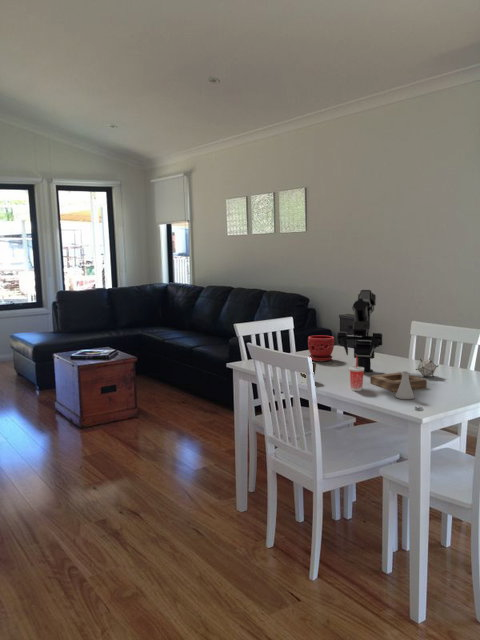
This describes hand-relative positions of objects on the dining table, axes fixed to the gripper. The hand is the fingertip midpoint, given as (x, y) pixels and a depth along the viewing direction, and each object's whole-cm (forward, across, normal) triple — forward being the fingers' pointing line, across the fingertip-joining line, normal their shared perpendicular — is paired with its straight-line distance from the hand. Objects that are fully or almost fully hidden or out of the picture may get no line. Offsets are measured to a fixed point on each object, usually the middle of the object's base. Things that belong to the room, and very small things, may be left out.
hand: (358, 355), depth 241 cm
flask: (+20, +19, -1) cm, 27 cm away
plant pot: (-25, -23, +43) cm, 55 cm away
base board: (+7, +16, +12) cm, 21 cm away
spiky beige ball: (-6, +28, +25) cm, 38 cm away
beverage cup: (+14, 0, +4) cm, 15 cm away
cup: (+8, -22, +11) cm, 26 cm away
